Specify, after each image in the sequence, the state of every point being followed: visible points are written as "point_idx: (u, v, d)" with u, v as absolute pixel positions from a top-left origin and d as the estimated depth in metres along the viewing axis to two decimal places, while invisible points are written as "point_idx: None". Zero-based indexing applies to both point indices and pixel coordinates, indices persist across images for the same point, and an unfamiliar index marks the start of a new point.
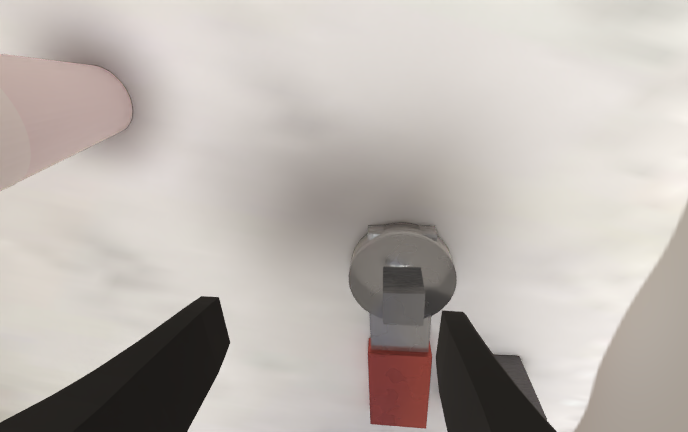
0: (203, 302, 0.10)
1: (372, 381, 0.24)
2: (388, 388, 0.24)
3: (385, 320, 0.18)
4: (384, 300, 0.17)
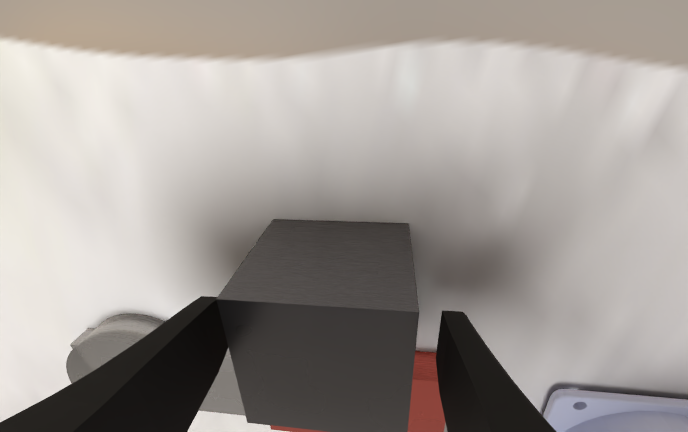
0: (203, 302, 0.10)
1: None
2: None
3: None
4: None
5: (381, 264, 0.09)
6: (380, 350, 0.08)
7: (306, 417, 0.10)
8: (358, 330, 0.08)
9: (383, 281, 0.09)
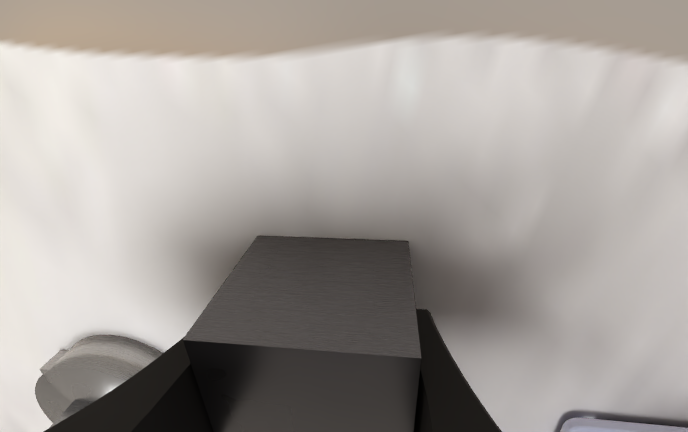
0: None
1: None
2: None
3: None
4: None
5: (377, 293, 0.08)
6: (376, 398, 0.07)
7: None
8: (349, 377, 0.07)
9: (379, 316, 0.07)
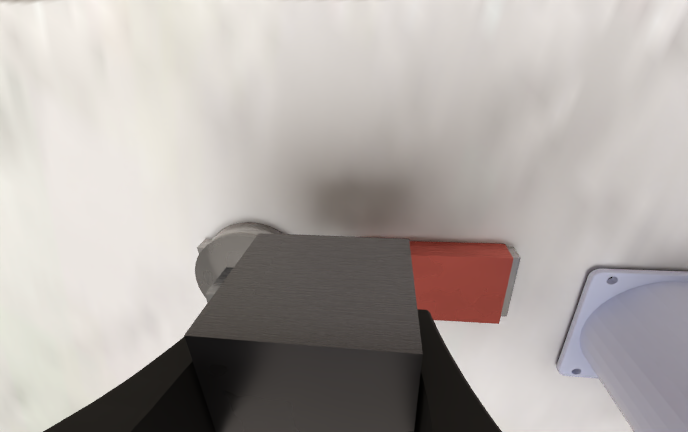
0: None
1: None
2: (419, 299, 0.18)
3: None
4: None
5: (378, 289, 0.08)
6: (377, 395, 0.07)
7: None
8: (351, 372, 0.07)
9: (381, 313, 0.07)
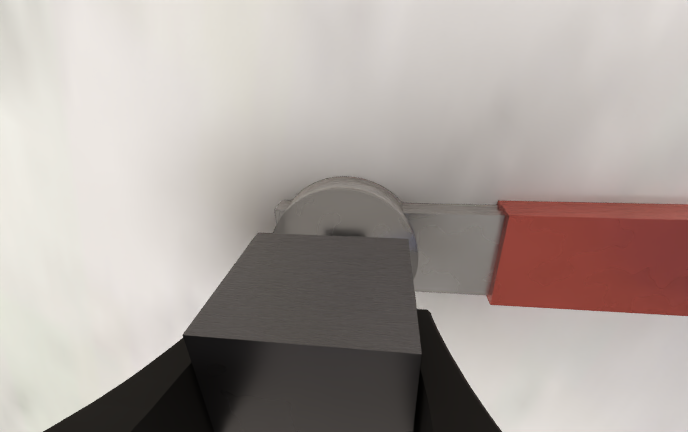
0: None
1: (560, 304, 0.14)
2: (585, 282, 0.13)
3: None
4: None
5: (377, 289, 0.08)
6: (376, 394, 0.07)
7: None
8: (349, 373, 0.07)
9: (380, 312, 0.07)
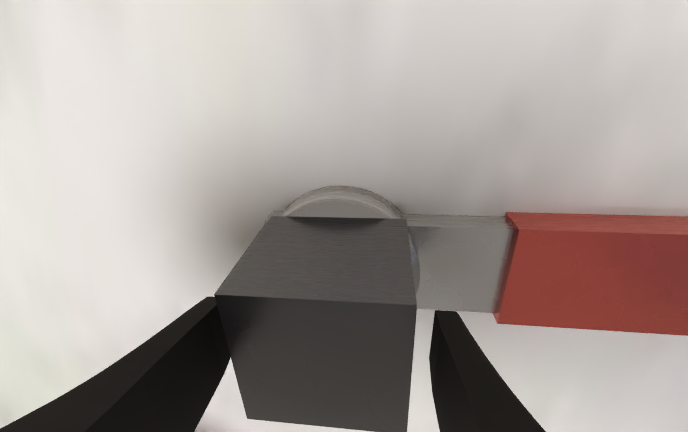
0: (209, 302, 0.10)
1: (573, 323, 0.13)
2: (600, 300, 0.12)
3: None
4: None
5: (379, 258, 0.09)
6: (379, 344, 0.08)
7: (306, 412, 0.10)
8: (356, 324, 0.08)
9: (381, 275, 0.09)
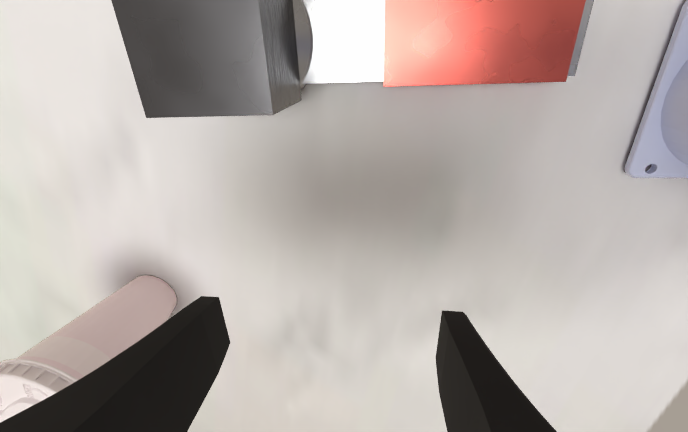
0: (203, 302, 0.10)
1: (446, 78, 0.15)
2: (464, 48, 0.14)
3: None
4: None
5: None
6: None
7: (190, 100, 0.12)
8: None
9: None
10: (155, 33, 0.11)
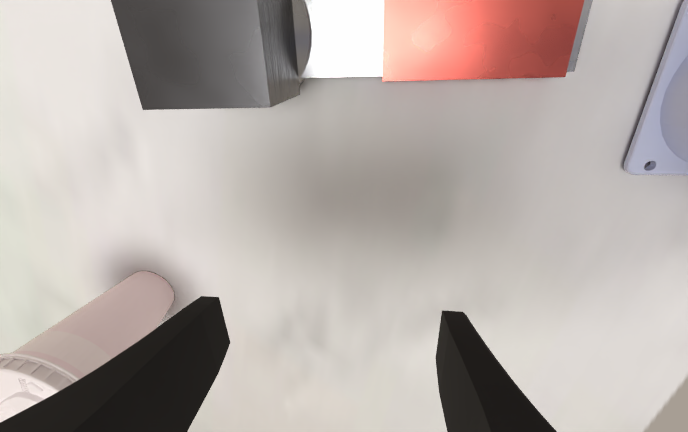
0: (203, 302, 0.10)
1: (445, 73, 0.15)
2: (463, 43, 0.14)
3: None
4: None
5: None
6: None
7: (187, 92, 0.12)
8: None
9: None
10: (152, 24, 0.11)
